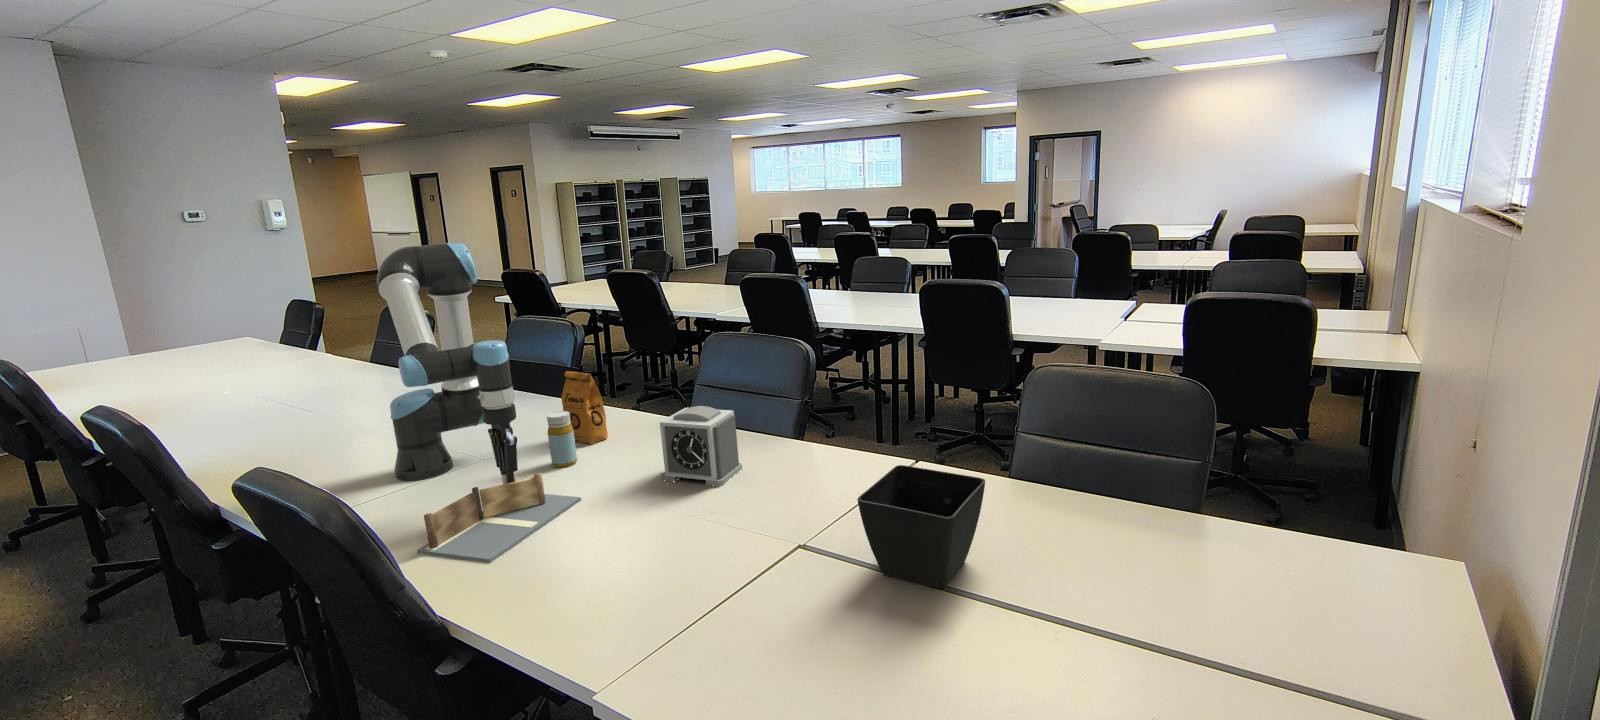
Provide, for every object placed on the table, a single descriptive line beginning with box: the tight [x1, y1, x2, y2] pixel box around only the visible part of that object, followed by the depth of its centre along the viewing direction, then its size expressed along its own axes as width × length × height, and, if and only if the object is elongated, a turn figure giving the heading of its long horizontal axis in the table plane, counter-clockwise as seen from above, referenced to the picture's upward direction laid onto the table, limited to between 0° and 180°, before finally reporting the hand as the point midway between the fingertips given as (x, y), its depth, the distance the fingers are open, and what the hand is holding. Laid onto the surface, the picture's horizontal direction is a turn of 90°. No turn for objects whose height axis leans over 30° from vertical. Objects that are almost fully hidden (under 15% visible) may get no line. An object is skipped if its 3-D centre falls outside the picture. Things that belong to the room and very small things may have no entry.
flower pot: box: [857, 464, 986, 590], centre depth 145 cm, size 19×19×17 cm
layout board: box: [416, 493, 582, 564], centre depth 179 cm, size 33×20×1 cm, turn 161°
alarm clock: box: [659, 405, 743, 487], centre depth 201 cm, size 18×13×18 cm
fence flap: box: [479, 472, 546, 518], centre depth 184 cm, size 14×2×7 cm, turn 121°
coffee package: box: [560, 370, 609, 445], centre depth 236 cm, size 10×12×22 cm
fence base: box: [423, 486, 483, 549], centre depth 173 cm, size 16×2×8 cm, turn 161°
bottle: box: [546, 410, 578, 468], centre depth 216 cm, size 7×7×15 cm
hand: (511, 496), depth 186 cm, fingers closed
